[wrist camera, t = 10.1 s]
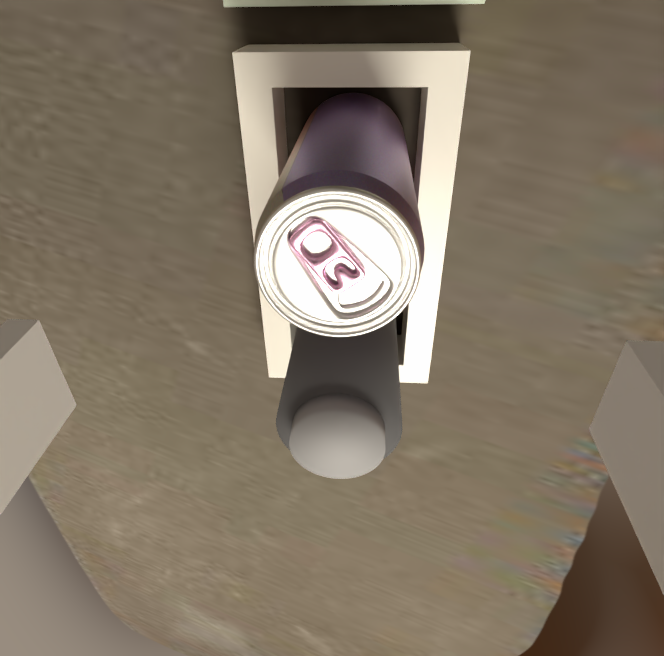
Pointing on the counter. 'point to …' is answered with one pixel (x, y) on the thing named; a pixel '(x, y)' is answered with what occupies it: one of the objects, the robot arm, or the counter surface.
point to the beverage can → (342, 223)
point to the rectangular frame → (340, 2)
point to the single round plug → (341, 402)
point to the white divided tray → (430, 168)
